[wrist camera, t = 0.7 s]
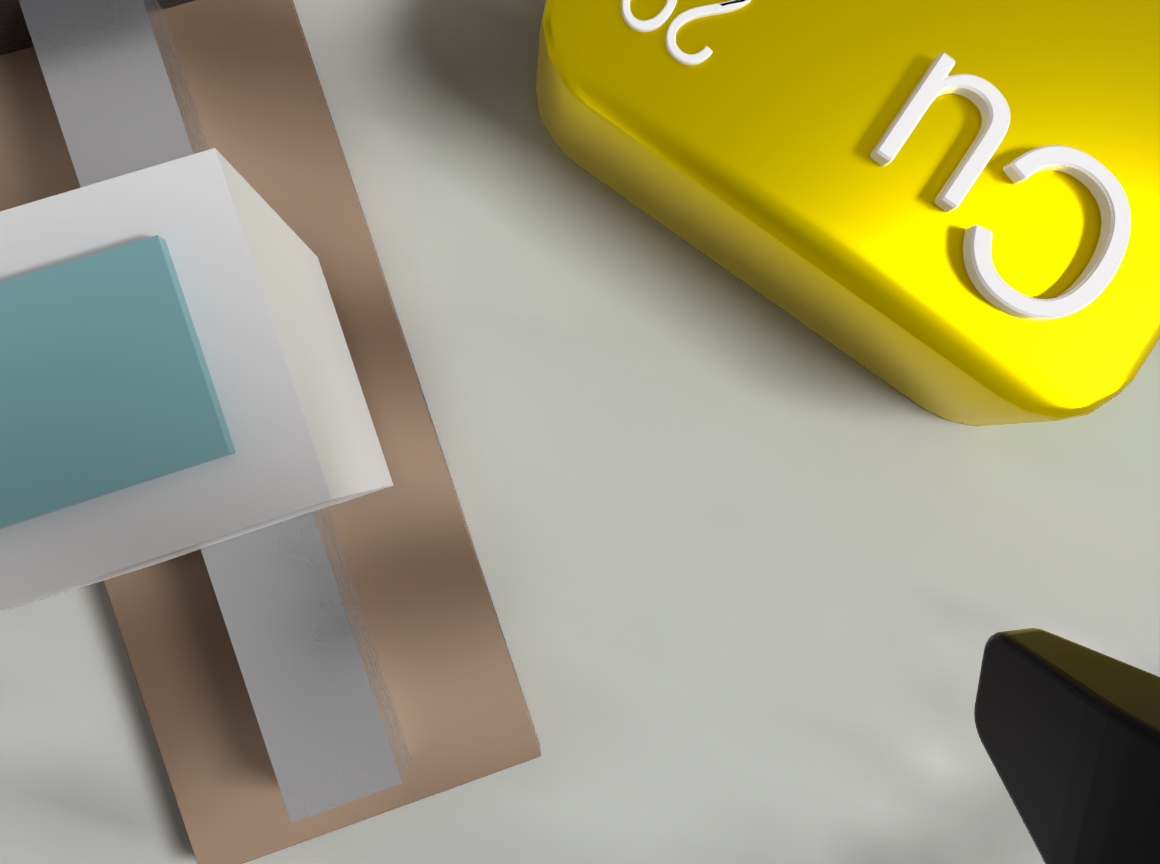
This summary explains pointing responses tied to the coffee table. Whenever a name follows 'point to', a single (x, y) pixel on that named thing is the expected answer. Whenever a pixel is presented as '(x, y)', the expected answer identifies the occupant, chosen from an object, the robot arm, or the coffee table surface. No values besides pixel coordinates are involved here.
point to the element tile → (896, 175)
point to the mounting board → (364, 524)
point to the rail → (271, 554)
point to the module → (165, 378)
